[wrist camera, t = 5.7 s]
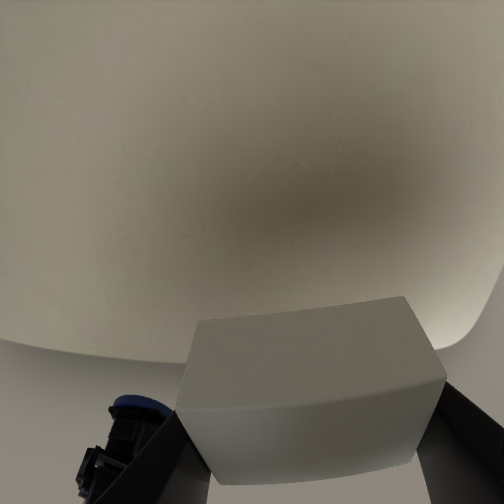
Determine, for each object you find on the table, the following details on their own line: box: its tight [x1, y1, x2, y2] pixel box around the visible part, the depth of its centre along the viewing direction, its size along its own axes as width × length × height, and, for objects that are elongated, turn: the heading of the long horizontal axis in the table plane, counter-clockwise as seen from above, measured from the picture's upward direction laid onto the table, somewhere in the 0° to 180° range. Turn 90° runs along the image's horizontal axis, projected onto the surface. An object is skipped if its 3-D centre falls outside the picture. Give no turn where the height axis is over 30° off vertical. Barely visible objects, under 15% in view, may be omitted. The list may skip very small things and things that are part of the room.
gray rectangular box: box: [175, 296, 447, 485], centre depth 8 cm, size 4×6×3 cm
